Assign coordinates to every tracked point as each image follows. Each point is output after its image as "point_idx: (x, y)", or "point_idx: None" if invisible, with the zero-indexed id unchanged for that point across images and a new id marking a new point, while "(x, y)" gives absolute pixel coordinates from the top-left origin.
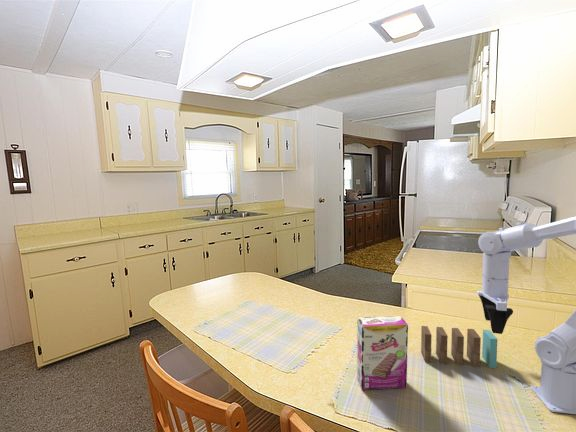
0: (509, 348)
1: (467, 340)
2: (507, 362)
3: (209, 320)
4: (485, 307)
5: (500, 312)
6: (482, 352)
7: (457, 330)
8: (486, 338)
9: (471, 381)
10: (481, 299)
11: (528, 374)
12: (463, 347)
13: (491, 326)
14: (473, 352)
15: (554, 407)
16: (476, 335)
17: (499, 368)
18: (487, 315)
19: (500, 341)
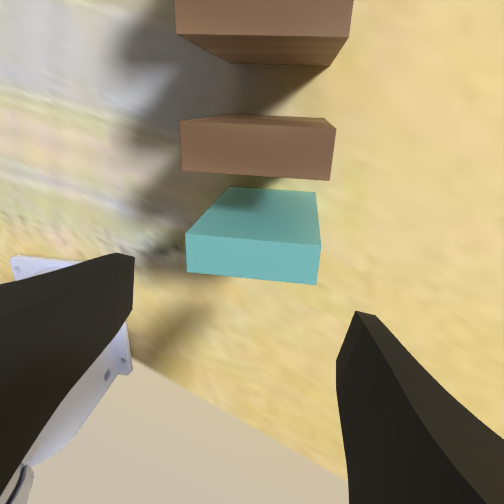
0: None
1: (322, 122)
2: None
3: None
4: (392, 402)
5: None
6: (312, 198)
7: (296, 12)
8: (256, 227)
9: (101, 54)
10: (457, 482)
11: (203, 302)
12: (203, 47)
13: (79, 264)
14: (212, 116)
15: (22, 272)
16: (215, 154)
17: None
18: (360, 349)
19: (457, 335)
